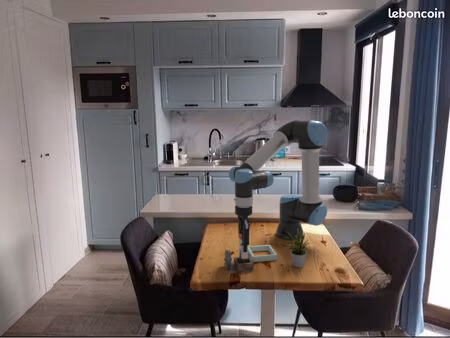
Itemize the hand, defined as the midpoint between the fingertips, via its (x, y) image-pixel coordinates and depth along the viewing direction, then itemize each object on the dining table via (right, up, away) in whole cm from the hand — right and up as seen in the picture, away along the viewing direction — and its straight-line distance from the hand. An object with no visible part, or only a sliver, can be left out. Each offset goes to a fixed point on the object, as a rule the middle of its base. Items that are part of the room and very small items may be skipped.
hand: (243, 255), depth 150 cm
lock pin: (0, -5, +1) cm, 5 cm away
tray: (+9, -4, +12) cm, 16 cm away
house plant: (+25, -6, +7) cm, 26 cm away
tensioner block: (-2, -7, +1) cm, 7 cm away
